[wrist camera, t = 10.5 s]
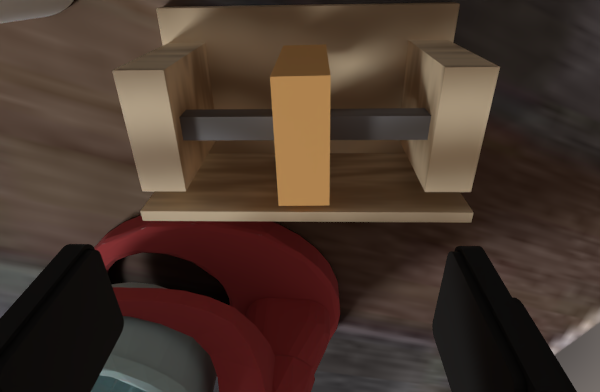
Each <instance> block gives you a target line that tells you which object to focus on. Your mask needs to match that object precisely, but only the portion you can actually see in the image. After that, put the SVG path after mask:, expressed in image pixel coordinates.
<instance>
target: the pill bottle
mask: <svg viewBox="0 0 600 392" xmlns="http://www.w3.org/2000/svg"><path fill="white" fill-rule="evenodd" d="M73 1H74V0H0V23H6V22H13V21H20V20H27V19H34V18H41V17H47V16H51V15H54V14H57V13H59V12H61V11H63V10H65V9H66V8H67V7H68V6H70V4H71V3H72V2H73Z"/></svg>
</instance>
